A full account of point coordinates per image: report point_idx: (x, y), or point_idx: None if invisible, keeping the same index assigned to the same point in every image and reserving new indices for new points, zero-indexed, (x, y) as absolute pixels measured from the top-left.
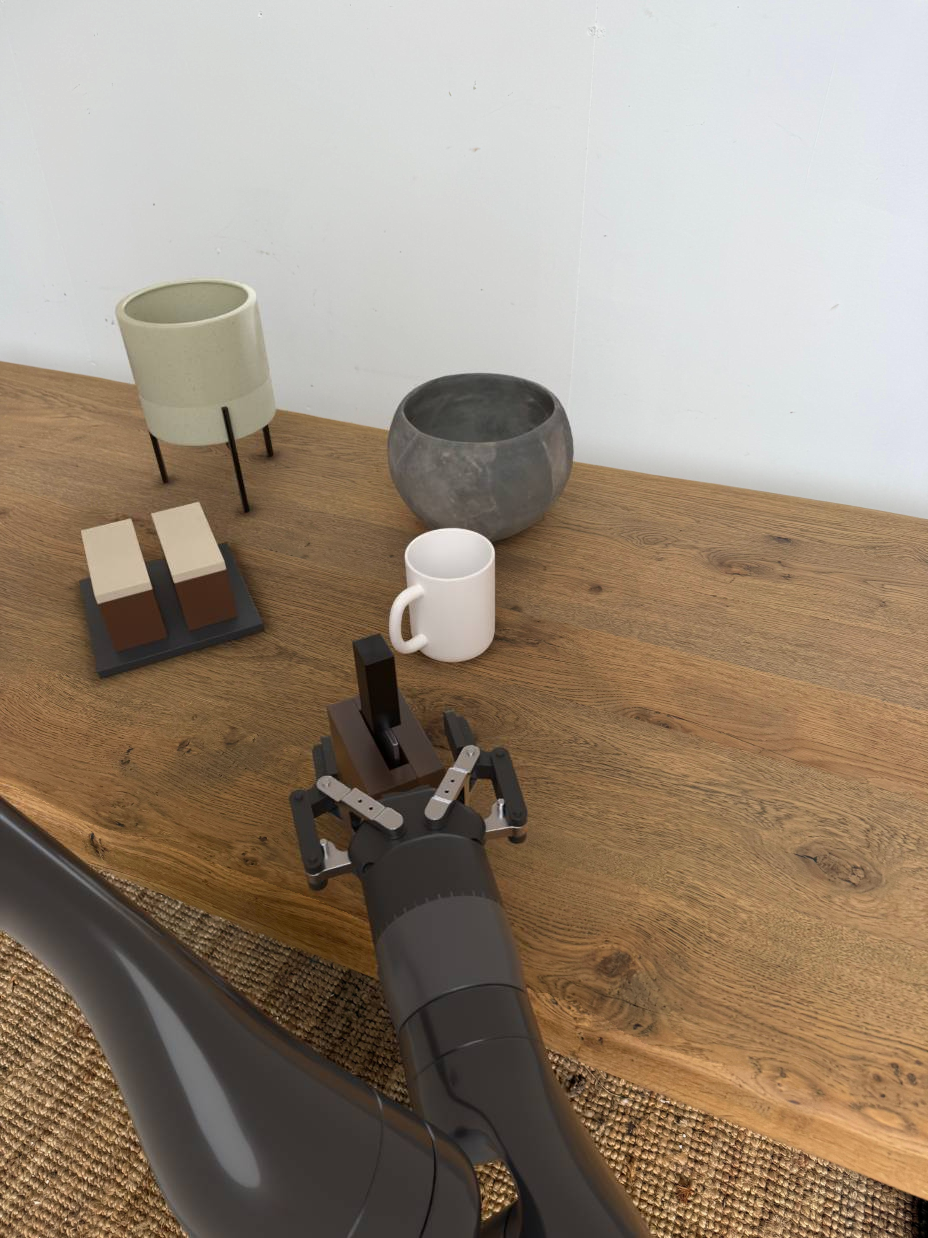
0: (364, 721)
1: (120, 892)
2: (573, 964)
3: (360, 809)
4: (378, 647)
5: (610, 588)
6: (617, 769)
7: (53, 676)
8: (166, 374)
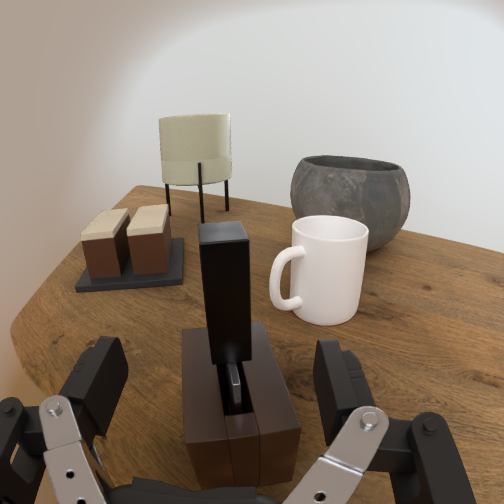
0: None
1: None
2: None
3: (60, 492)
4: (229, 230)
5: (436, 288)
6: (465, 426)
7: (58, 286)
8: (172, 142)
